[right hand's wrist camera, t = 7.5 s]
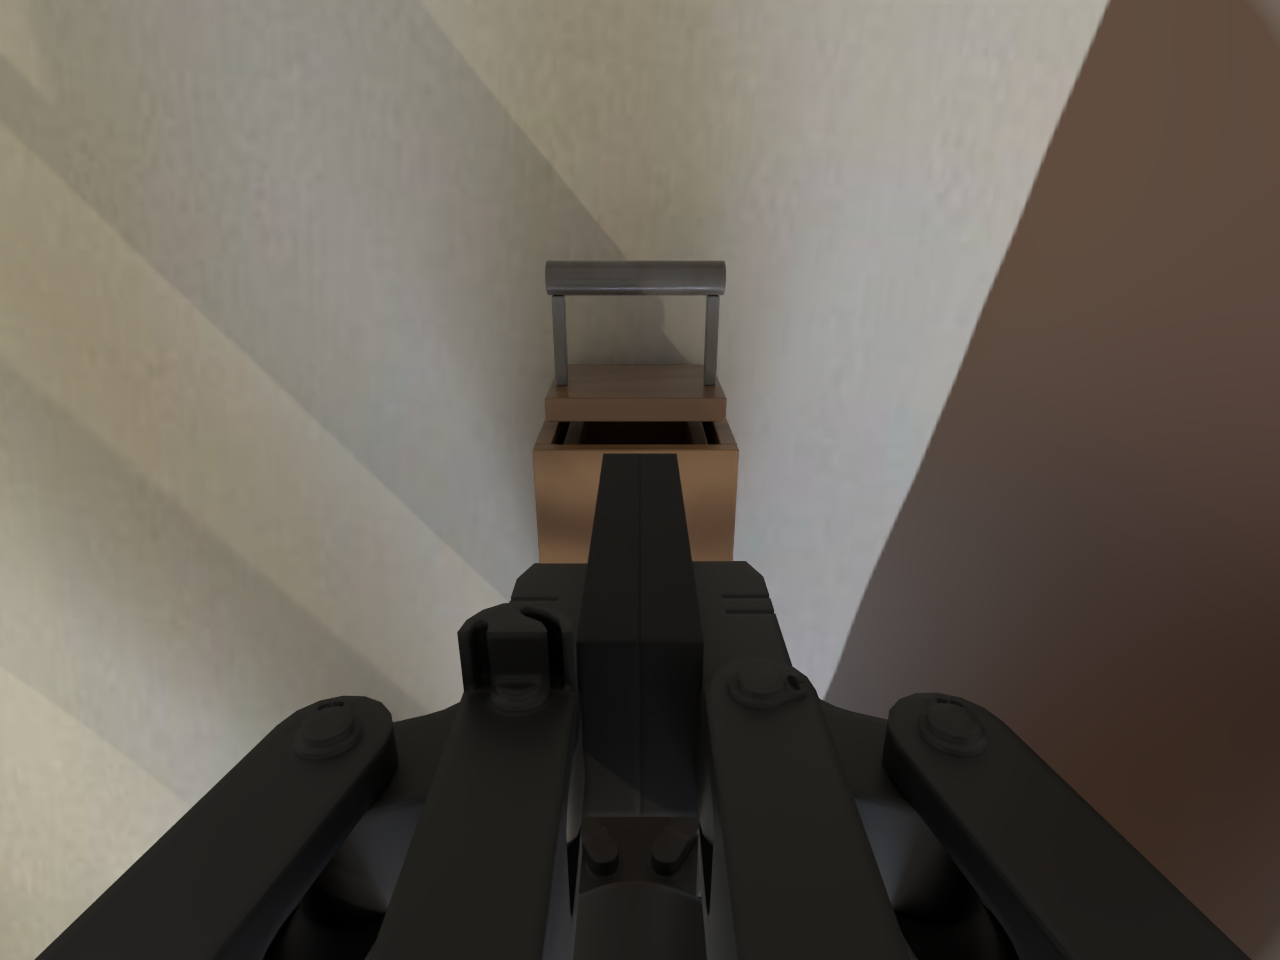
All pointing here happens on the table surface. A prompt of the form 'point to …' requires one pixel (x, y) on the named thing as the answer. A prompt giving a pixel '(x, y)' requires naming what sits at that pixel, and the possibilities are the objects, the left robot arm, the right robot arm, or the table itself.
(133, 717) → the table surface
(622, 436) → the wooden drawer
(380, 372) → the table surface
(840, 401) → the table surface
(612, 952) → the left robot arm
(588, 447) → the wooden drawer box
